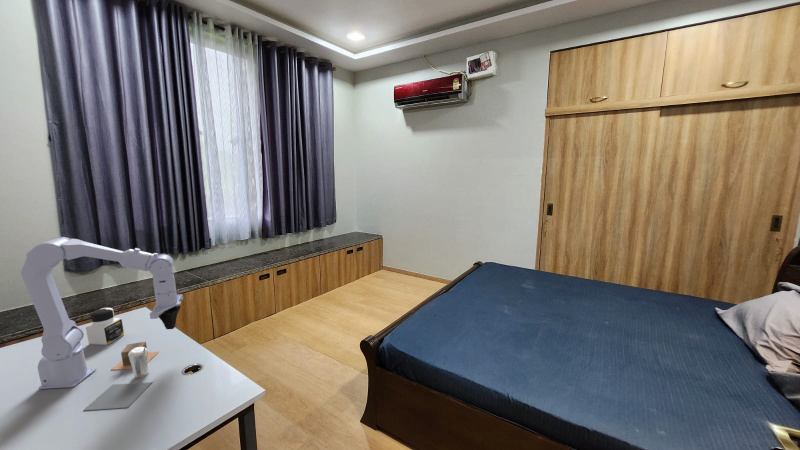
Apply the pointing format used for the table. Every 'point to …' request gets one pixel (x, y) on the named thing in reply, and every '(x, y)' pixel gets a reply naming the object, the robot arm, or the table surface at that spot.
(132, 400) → the tile slate
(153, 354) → the tile terracotta
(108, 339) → the medicine bottle
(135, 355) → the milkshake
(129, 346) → the walnut block
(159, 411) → the table surface
